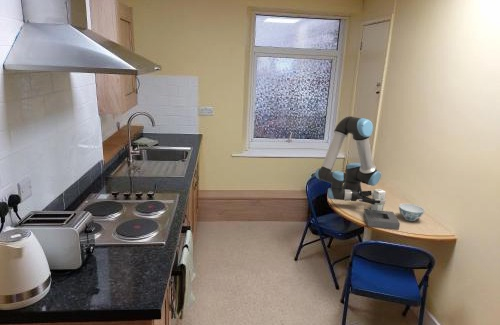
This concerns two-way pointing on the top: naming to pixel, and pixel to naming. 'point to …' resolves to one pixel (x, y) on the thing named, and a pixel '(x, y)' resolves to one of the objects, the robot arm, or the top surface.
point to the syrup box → (378, 195)
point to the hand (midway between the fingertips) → (383, 198)
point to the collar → (381, 219)
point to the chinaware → (411, 211)
